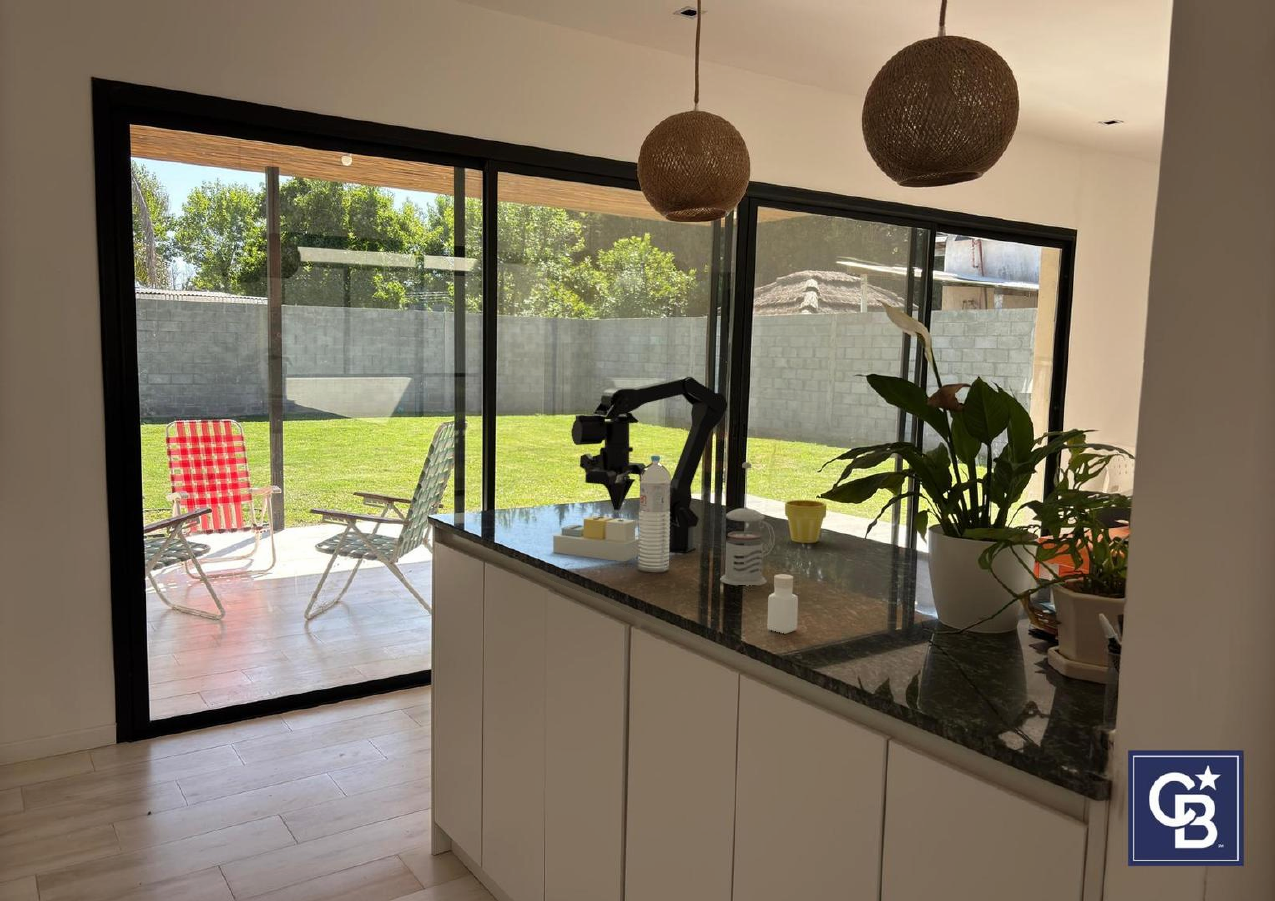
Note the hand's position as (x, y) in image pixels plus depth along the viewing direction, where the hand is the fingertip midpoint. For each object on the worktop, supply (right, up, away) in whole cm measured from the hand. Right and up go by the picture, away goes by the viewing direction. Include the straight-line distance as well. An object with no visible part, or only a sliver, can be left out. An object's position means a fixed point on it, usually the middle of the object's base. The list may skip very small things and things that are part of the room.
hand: (616, 509), depth 217 cm
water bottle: (+8, -13, -12) cm, 19 cm away
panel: (-5, -10, +3) cm, 12 cm away
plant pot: (+48, -10, +22) cm, 53 cm away
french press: (+28, -14, -20) cm, 37 cm away
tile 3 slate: (-10, -9, +6) cm, 15 cm away
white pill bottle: (+30, -17, -56) cm, 65 cm away
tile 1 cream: (+1, -8, 0) cm, 8 cm away
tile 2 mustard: (-5, -7, +3) cm, 9 cm away
